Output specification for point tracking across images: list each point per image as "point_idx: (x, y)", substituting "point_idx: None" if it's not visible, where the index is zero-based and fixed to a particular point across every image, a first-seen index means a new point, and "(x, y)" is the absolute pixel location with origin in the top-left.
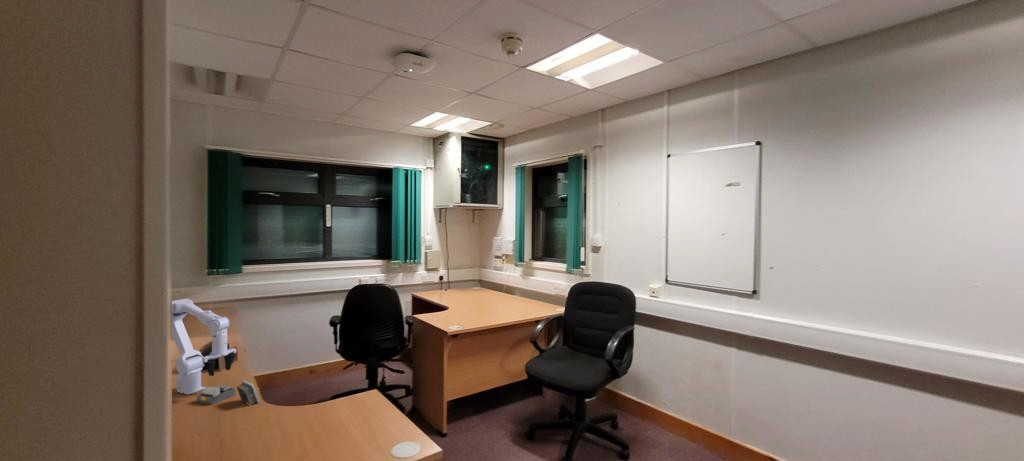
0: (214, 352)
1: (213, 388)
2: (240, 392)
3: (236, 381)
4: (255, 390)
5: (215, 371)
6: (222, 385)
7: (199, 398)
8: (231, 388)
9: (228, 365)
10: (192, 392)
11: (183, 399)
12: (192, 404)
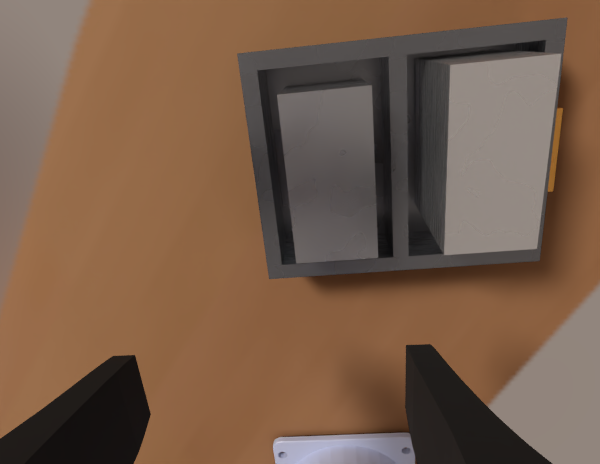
0: None
1: (489, 135)
2: None
3: (68, 358)
4: None
5: None
6: (306, 206)
7: None
8: (260, 92)
9: (94, 430)
10: (384, 436)
11: (489, 386)
12: (557, 222)
